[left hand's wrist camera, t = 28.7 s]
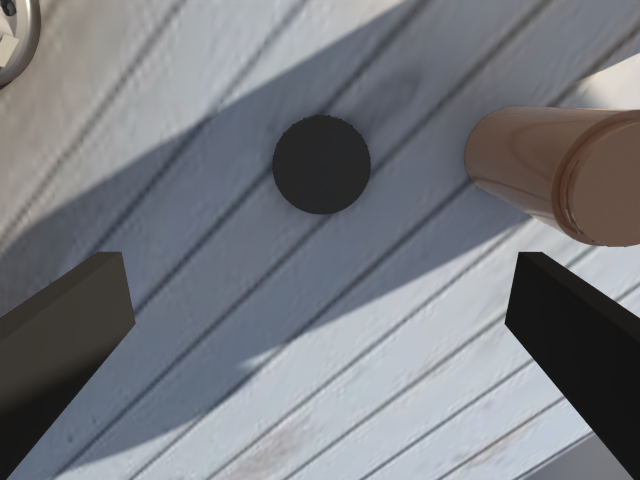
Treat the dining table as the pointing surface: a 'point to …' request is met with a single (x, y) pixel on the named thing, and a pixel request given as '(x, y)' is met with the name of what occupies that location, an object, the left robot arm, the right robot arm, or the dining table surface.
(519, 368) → the dining table surface
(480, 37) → the dining table surface
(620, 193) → the jar
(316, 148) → the lid
